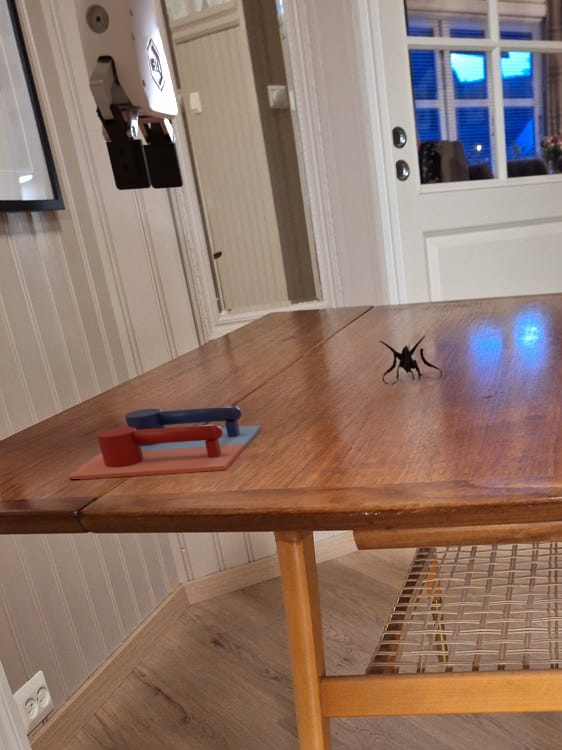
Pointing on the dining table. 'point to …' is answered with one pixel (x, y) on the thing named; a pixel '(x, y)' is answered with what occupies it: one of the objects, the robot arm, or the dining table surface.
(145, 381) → the dining table surface
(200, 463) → the mat
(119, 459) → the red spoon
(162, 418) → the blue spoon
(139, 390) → the dining table surface
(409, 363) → the creature
